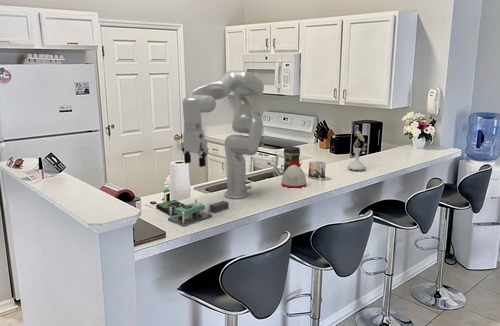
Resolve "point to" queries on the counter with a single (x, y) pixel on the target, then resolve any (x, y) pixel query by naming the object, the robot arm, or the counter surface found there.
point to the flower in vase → (357, 156)
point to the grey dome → (294, 176)
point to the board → (190, 208)
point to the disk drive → (166, 206)
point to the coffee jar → (290, 155)
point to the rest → (219, 206)
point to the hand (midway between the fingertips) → (195, 164)
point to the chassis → (189, 217)
